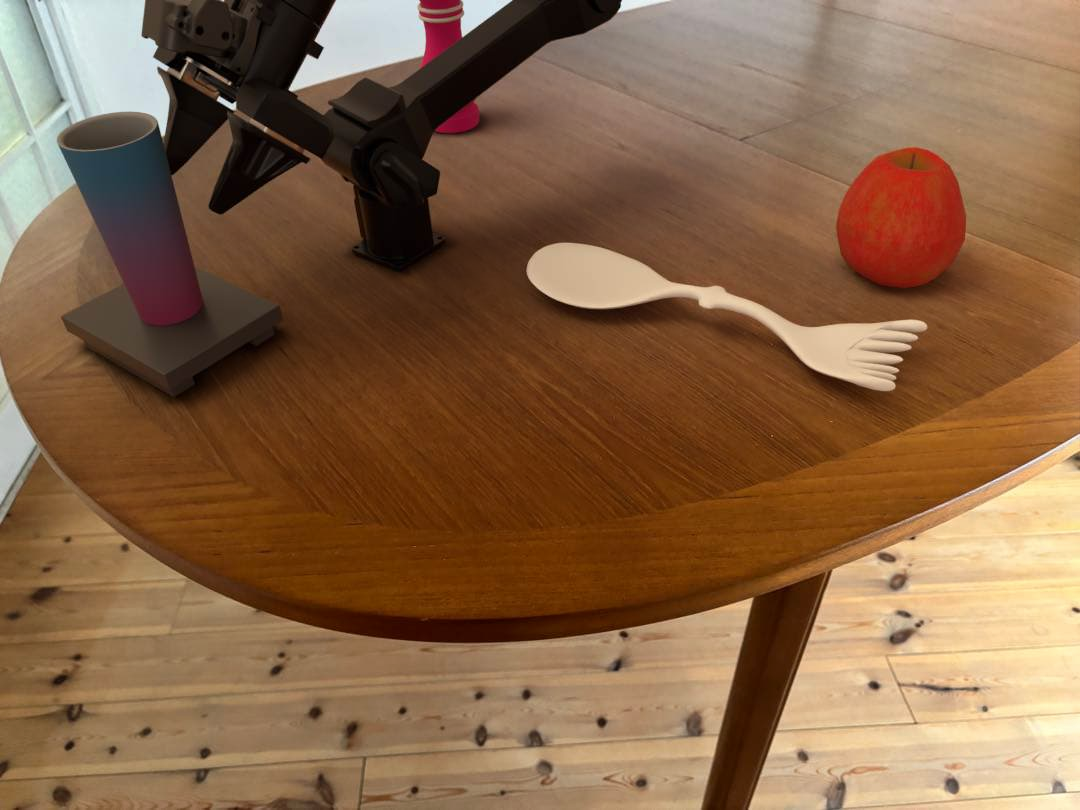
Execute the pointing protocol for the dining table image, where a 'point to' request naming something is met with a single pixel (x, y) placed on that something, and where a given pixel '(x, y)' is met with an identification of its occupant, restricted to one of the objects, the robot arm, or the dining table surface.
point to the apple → (902, 219)
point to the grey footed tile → (174, 332)
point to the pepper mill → (442, 31)
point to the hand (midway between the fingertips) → (189, 191)
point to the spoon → (626, 282)
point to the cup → (135, 210)
